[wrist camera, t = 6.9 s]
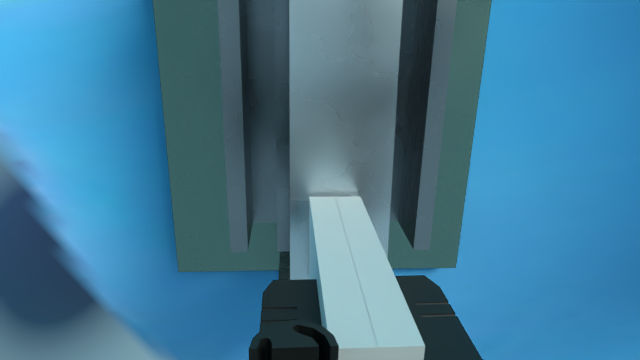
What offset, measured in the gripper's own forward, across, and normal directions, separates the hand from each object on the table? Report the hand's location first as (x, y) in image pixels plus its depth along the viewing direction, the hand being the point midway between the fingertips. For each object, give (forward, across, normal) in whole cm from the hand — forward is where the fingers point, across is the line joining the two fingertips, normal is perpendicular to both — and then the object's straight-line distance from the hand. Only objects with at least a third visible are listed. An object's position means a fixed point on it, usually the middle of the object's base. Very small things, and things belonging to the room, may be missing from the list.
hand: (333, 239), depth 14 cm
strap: (+1, 0, +4) cm, 4 cm away
